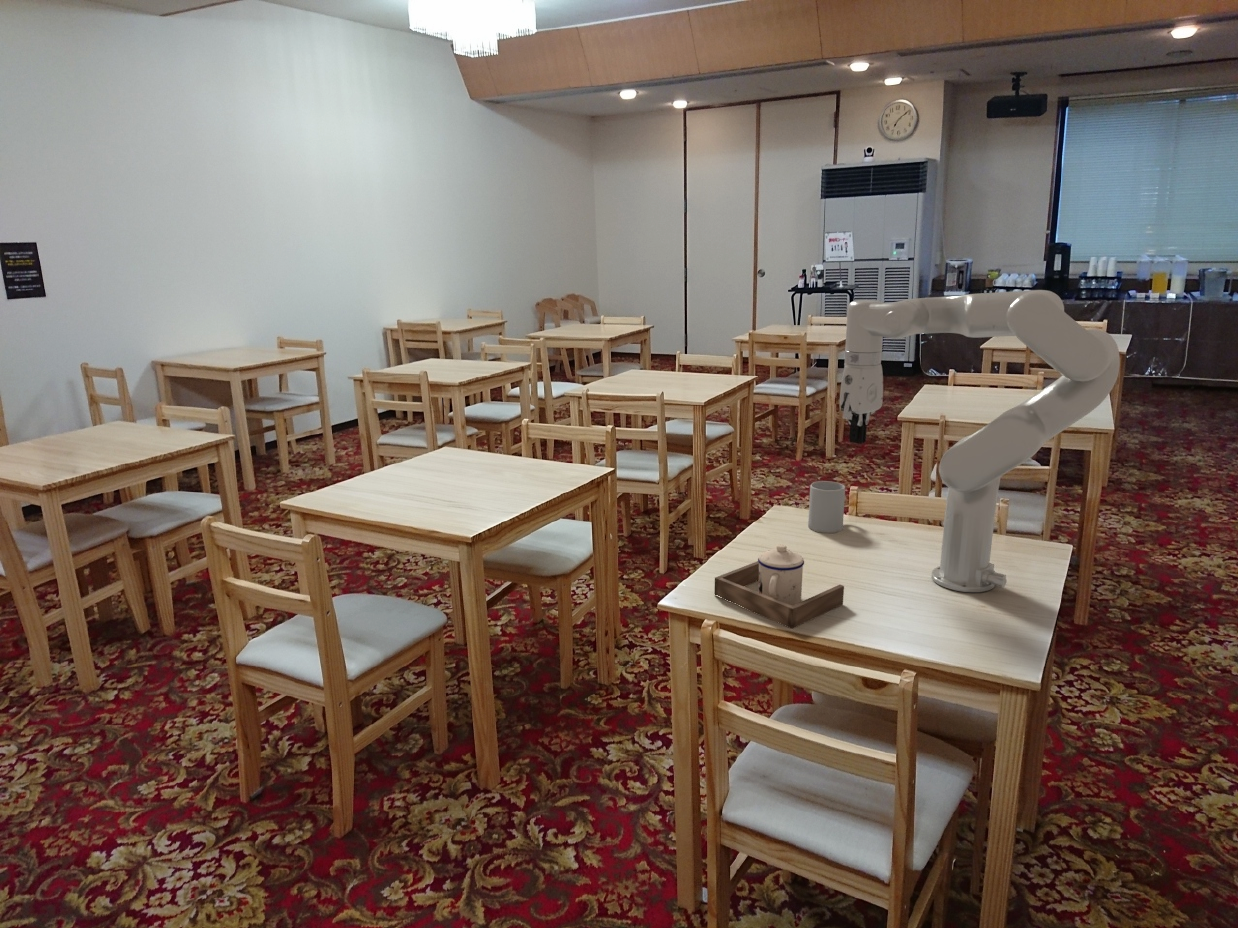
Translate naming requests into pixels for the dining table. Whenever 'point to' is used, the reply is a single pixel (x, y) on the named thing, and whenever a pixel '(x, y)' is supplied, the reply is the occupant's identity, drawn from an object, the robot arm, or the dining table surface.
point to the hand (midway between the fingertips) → (857, 442)
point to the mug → (826, 506)
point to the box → (788, 615)
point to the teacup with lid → (781, 575)
